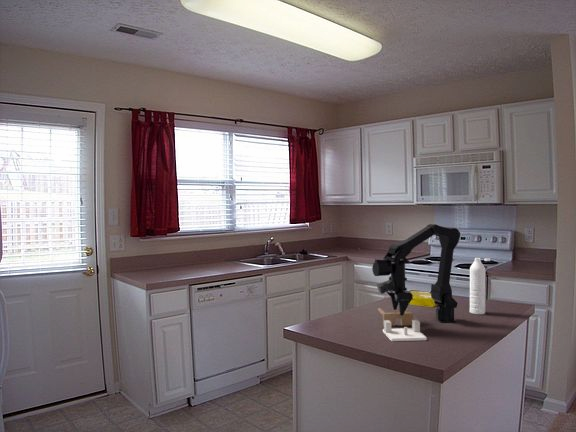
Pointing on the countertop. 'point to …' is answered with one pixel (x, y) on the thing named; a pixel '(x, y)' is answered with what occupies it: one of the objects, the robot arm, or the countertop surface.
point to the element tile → (422, 299)
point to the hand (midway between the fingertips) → (398, 312)
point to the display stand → (404, 332)
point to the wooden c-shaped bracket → (405, 319)
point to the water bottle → (477, 287)
